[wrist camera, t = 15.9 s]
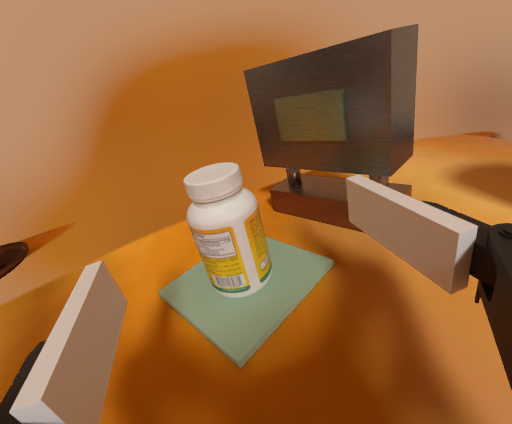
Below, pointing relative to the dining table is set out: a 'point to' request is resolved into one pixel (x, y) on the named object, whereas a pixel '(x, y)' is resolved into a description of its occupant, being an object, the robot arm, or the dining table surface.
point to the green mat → (247, 301)
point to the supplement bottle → (228, 230)
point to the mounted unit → (336, 119)
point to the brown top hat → (11, 256)
